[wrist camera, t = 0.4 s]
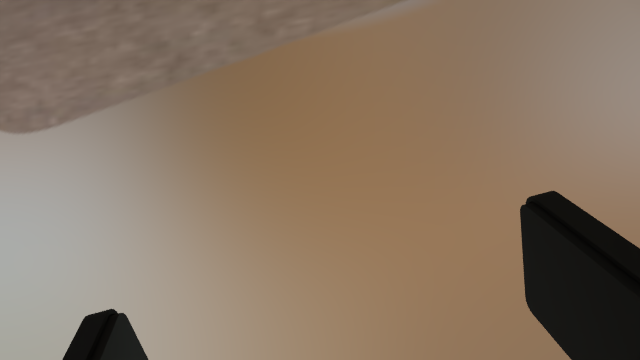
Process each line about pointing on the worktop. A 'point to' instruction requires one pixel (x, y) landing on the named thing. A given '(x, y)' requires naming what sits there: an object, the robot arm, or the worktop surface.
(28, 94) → the worktop surface
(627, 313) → the robot arm
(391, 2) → the worktop surface
